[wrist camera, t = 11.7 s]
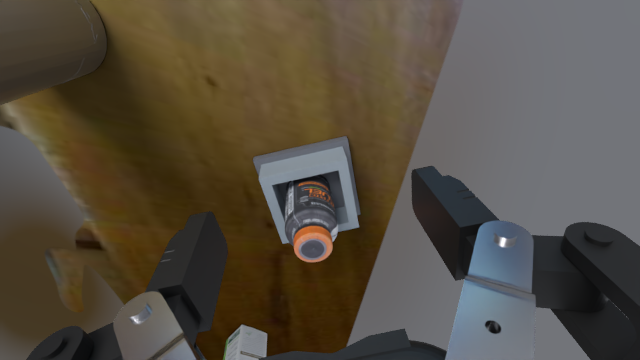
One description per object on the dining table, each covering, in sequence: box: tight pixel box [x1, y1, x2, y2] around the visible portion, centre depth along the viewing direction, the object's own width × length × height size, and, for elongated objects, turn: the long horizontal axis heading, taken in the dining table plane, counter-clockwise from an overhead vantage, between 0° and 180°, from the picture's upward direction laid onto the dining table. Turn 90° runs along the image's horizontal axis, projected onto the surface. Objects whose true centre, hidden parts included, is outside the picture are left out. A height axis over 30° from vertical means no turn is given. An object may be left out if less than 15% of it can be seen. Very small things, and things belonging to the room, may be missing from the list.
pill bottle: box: [285, 175, 338, 262], centre depth 35 cm, size 6×6×11 cm
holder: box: [253, 136, 361, 244], centre depth 39 cm, size 12×12×4 cm
